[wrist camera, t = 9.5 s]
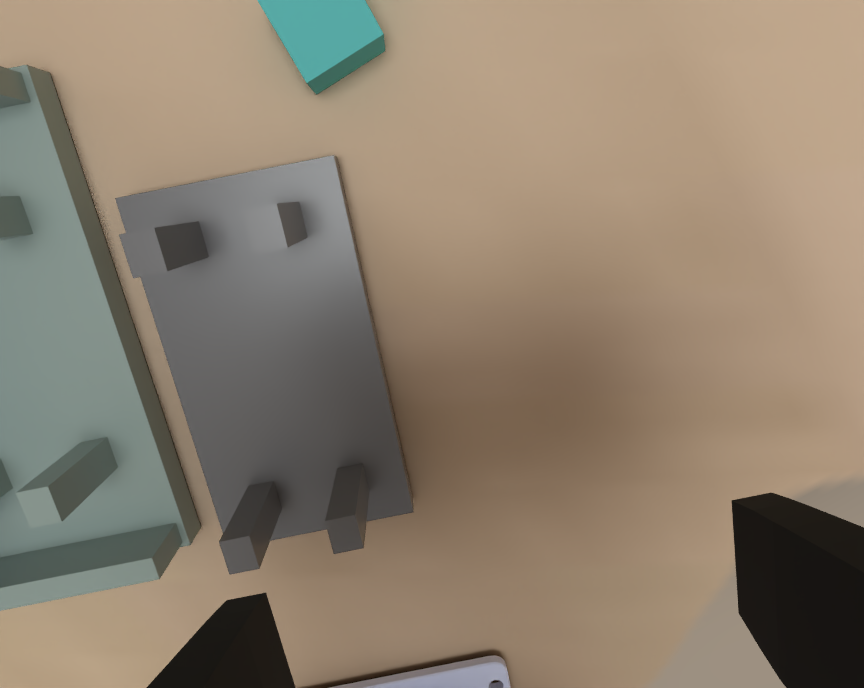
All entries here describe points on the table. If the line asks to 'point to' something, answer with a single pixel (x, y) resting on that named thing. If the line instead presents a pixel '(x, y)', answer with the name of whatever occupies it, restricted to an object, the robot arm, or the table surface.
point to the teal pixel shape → (326, 36)
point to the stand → (272, 353)
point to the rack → (72, 381)
